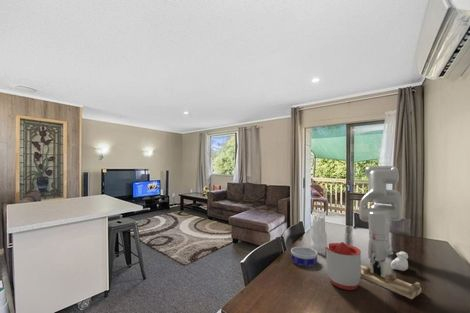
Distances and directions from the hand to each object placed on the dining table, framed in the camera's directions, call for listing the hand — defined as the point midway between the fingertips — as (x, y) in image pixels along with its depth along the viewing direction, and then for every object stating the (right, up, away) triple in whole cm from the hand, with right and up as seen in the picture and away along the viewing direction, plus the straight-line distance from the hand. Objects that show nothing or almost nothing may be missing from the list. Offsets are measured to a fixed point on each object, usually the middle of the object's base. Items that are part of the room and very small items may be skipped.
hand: (379, 273), depth 106 cm
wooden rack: (0, -4, 0) cm, 4 cm away
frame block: (0, -1, 0) cm, 1 cm away
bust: (+20, -5, +11) cm, 23 cm away
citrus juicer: (-21, -4, -3) cm, 21 cm away
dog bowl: (-31, -5, +22) cm, 38 cm away
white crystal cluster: (-15, -6, +39) cm, 42 cm away
